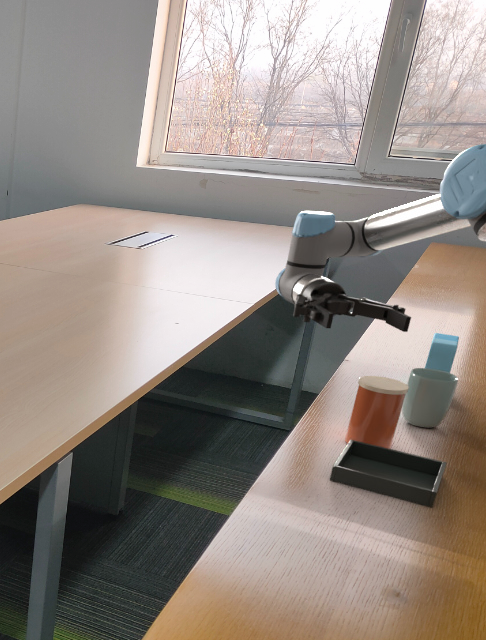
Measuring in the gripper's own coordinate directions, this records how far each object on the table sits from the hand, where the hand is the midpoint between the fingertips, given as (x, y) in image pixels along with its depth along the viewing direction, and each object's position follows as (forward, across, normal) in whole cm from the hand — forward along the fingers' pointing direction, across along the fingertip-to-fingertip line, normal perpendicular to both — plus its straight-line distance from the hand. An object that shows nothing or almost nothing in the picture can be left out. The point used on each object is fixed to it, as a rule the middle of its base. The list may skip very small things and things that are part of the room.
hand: (368, 322), depth 143 cm
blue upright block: (-23, -28, -20) cm, 42 cm away
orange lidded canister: (+10, 0, -20) cm, 22 cm away
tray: (+24, +4, -20) cm, 32 cm away
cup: (-4, -16, -20) cm, 26 cm away
